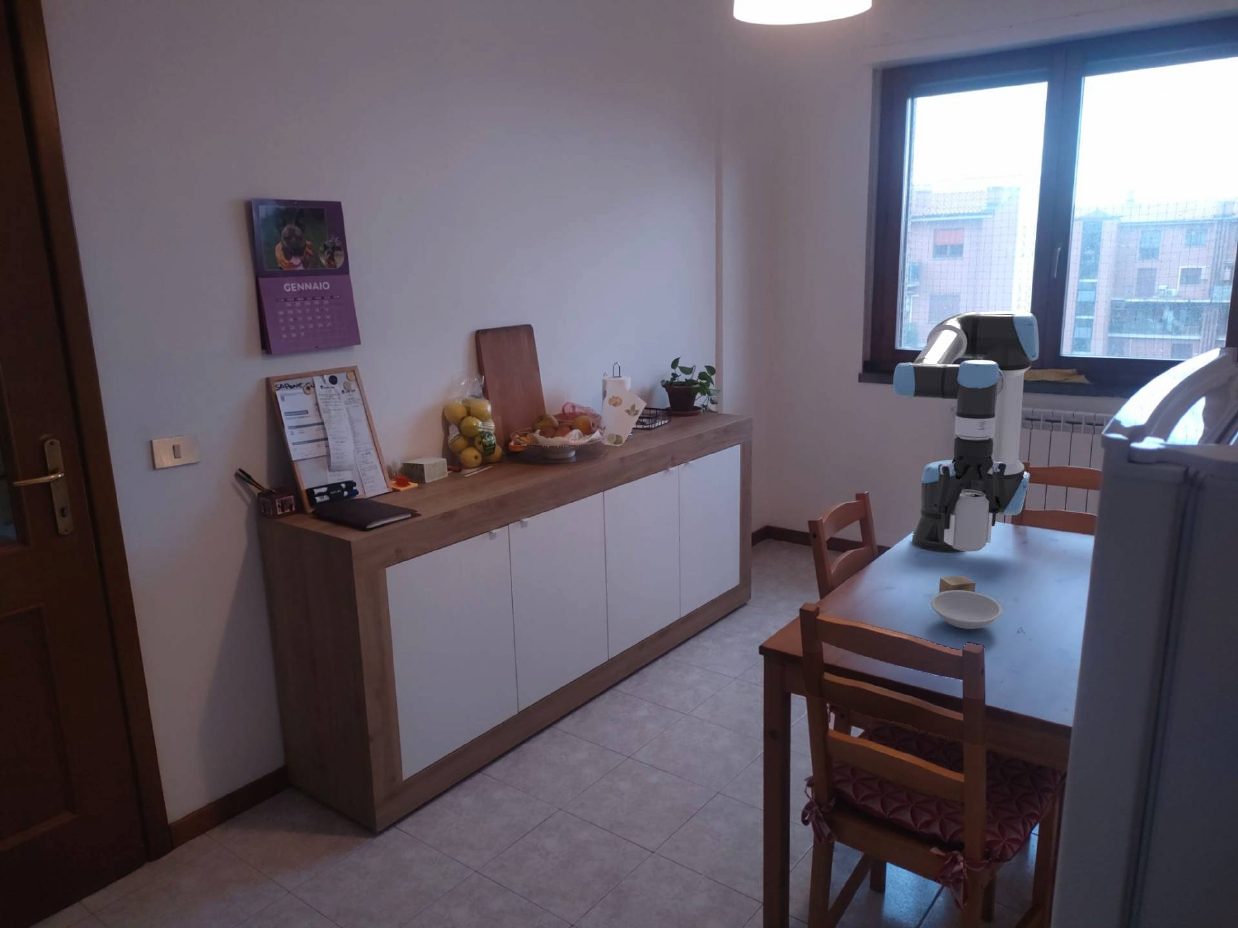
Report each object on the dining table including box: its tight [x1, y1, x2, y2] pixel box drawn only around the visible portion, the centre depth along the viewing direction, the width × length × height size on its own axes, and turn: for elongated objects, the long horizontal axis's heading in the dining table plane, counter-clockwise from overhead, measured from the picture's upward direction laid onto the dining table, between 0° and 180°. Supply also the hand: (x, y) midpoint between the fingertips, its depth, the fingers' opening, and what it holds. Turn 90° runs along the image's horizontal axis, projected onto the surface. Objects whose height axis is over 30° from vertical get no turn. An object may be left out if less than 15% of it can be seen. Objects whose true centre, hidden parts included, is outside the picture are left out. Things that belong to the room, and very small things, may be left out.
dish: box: [930, 590, 1003, 630], centre depth 186 cm, size 18×14×5 cm
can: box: [951, 490, 989, 553], centre depth 181 cm, size 8×8×12 cm
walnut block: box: [938, 574, 976, 593], centre depth 203 cm, size 6×5×4 cm
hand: (966, 541), depth 182 cm, fingers closed on can, 7 cm apart
